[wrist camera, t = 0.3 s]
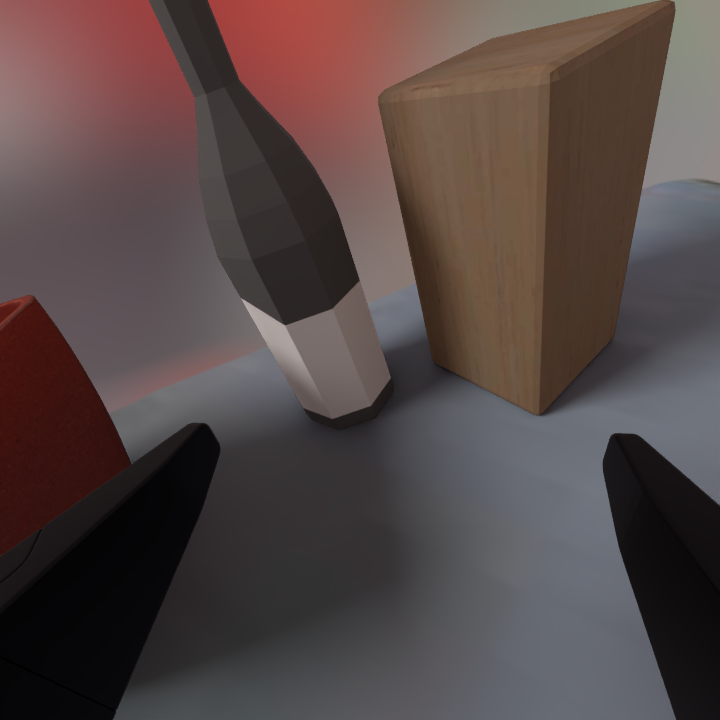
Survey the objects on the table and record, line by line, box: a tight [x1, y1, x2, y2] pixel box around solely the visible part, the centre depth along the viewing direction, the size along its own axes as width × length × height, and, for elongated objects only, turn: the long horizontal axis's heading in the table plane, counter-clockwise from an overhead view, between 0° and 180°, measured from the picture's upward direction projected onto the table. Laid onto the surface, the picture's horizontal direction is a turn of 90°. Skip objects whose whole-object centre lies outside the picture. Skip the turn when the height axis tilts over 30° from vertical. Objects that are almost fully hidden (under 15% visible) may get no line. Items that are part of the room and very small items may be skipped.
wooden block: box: [378, 0, 675, 415], centre depth 25 cm, size 10×10×20 cm
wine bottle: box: [149, 0, 394, 430], centre depth 24 cm, size 8×8×30 cm
